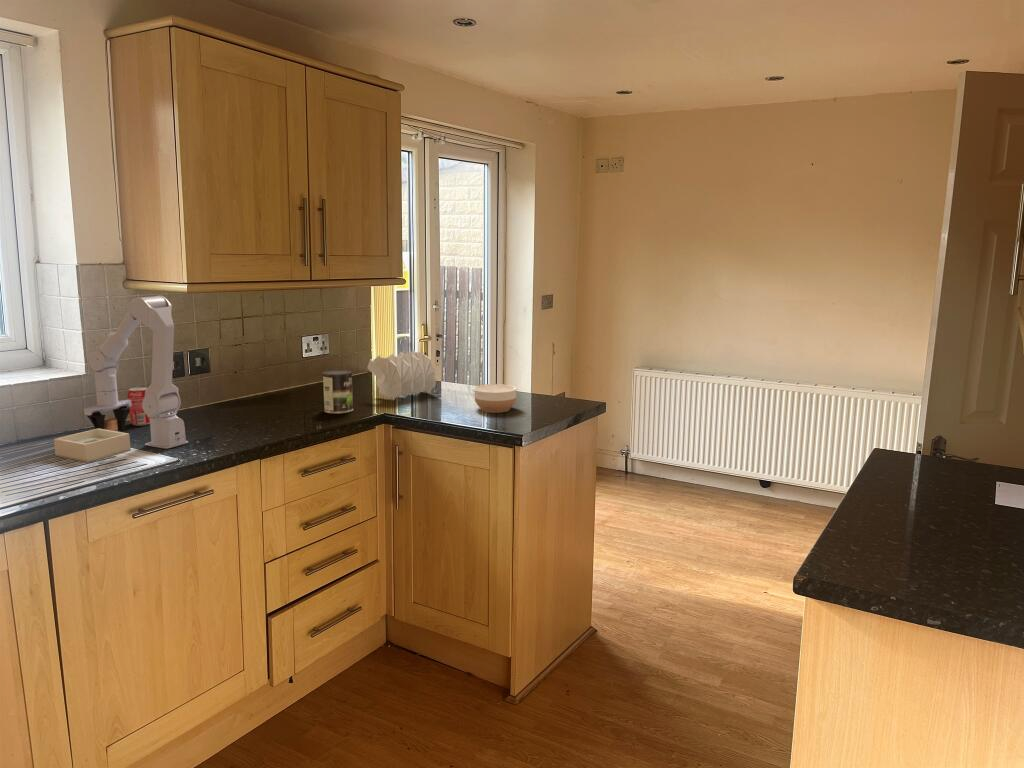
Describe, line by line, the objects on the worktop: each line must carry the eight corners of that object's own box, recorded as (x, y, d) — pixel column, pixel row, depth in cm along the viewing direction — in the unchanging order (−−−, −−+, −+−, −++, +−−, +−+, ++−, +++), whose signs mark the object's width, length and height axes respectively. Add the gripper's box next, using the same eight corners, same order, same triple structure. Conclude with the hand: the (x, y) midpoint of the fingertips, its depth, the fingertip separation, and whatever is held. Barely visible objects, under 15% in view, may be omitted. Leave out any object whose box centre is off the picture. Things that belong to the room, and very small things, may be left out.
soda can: (147, 420, 257) (144, 385, 255) (157, 423, 253) (154, 388, 250) (126, 424, 252) (122, 388, 249) (135, 427, 247) (132, 391, 245)
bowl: (488, 402, 288) (488, 382, 286) (525, 407, 280) (525, 386, 278) (464, 410, 274) (464, 389, 273) (502, 416, 266) (502, 394, 265)
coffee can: (357, 408, 277) (356, 370, 275) (346, 414, 267) (344, 375, 265) (331, 406, 279) (330, 369, 277) (319, 413, 269) (317, 373, 267)
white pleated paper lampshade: (433, 402, 306) (388, 410, 286) (406, 379, 314) (360, 385, 295) (449, 364, 299) (403, 369, 279) (420, 341, 307) (374, 345, 288)
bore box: (130, 450, 221) (129, 433, 220) (87, 462, 209) (85, 444, 208) (99, 444, 227) (98, 428, 226) (55, 455, 215) (53, 438, 214)
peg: (121, 437, 235) (119, 419, 234) (109, 440, 231) (108, 421, 230) (113, 436, 236) (111, 417, 235) (101, 439, 233) (99, 420, 232)
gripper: (119, 384, 239) (123, 426, 242) (75, 393, 226) (80, 437, 229) (134, 386, 236) (138, 429, 239) (91, 395, 223) (95, 440, 226)
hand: (110, 433), depth 233 cm, fingers open, 6 cm apart
